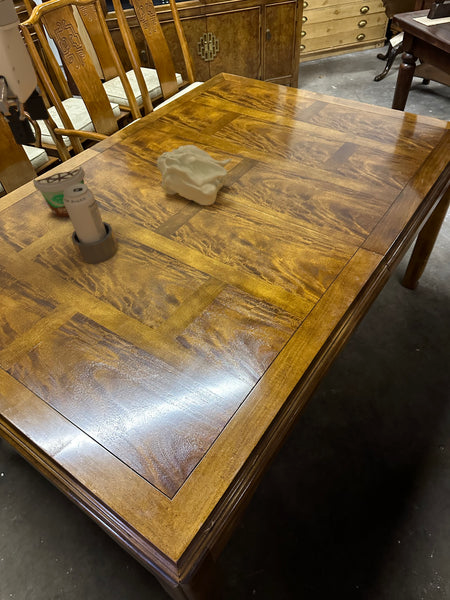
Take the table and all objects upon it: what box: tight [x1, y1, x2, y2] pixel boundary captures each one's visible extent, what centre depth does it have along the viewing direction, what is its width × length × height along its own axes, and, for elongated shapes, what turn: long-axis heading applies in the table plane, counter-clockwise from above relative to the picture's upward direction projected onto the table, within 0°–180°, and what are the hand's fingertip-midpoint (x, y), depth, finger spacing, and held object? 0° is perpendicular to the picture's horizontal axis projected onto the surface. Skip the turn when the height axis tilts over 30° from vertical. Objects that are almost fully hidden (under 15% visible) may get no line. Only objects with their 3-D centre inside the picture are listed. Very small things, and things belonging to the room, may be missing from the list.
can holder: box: [70, 221, 119, 264], centre depth 92 cm, size 9×9×5 cm
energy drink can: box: [63, 183, 107, 244], centre depth 88 cm, size 6×6×15 cm
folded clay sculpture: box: [156, 144, 232, 207], centre depth 103 cm, size 18×13×16 cm
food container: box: [32, 166, 86, 218], centre depth 102 cm, size 12×6×10 cm, turn 114°
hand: (34, 130), depth 73 cm, fingers open, 9 cm apart
